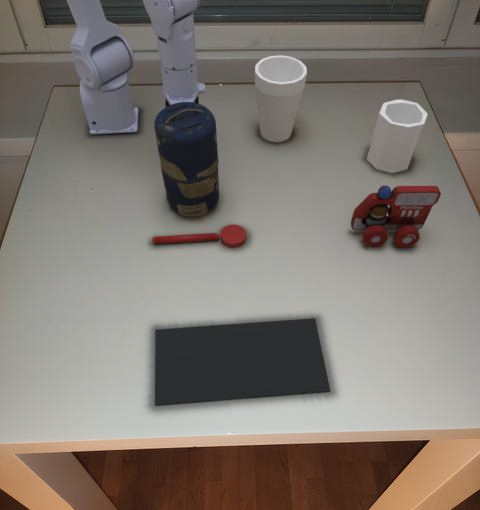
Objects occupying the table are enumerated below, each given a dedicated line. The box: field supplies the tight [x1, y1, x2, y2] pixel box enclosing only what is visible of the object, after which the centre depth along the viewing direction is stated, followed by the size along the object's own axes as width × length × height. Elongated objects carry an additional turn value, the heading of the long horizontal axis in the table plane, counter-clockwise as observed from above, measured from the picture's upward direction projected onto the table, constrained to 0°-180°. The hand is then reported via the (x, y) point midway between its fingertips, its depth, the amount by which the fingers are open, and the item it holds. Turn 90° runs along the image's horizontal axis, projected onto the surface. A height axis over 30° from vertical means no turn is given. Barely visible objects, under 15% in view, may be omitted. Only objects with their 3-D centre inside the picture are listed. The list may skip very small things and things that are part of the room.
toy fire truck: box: [350, 185, 442, 249], centre depth 77 cm, size 7×12×10 cm, turn 88°
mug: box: [366, 98, 429, 174], centre depth 89 cm, size 12×9×10 cm
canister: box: [153, 102, 220, 218], centre depth 78 cm, size 10×10×18 cm
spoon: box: [151, 224, 247, 248], centre depth 80 cm, size 16×4×1 cm, turn 95°
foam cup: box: [254, 54, 308, 143], centre depth 91 cm, size 10×9×13 cm
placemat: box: [154, 317, 331, 407], centre depth 68 cm, size 24×12×1 cm, turn 95°
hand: (185, 135), depth 86 cm, fingers closed
